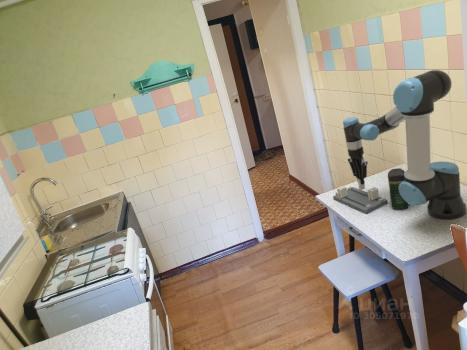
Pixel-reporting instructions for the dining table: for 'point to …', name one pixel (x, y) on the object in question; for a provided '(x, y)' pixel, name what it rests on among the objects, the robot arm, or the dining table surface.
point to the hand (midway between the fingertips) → (362, 189)
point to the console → (360, 200)
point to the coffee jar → (396, 188)
